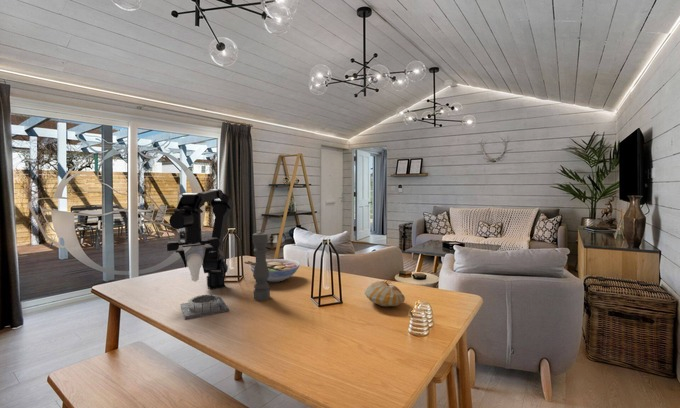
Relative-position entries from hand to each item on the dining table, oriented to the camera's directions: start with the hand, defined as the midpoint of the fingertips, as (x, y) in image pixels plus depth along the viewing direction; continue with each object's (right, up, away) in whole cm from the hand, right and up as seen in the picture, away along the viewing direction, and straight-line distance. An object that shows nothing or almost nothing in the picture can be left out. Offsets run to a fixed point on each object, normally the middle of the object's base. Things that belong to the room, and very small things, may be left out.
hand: (194, 266), depth 132 cm
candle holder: (+26, -13, +1) cm, 29 cm away
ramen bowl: (+26, -11, +25) cm, 38 cm away
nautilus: (+73, -13, -6) cm, 75 cm away
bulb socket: (+8, -13, -10) cm, 18 cm away
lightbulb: (0, -6, 0) cm, 6 cm away
